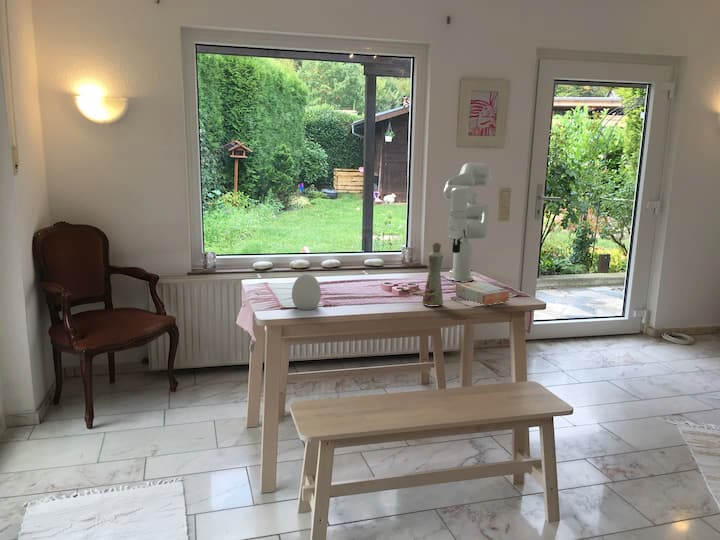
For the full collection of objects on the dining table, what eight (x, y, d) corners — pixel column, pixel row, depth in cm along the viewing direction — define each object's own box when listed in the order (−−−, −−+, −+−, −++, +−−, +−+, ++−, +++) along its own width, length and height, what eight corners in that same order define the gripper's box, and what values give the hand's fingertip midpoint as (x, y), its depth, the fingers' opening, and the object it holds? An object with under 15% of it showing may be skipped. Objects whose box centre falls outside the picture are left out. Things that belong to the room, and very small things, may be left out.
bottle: (442, 308, 258) (446, 244, 252) (421, 306, 260) (424, 243, 254) (443, 303, 266) (447, 241, 260) (423, 301, 268) (426, 240, 262)
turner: (399, 290, 287) (399, 288, 286) (405, 289, 290) (405, 286, 290) (426, 297, 276) (426, 295, 276) (432, 295, 280) (432, 293, 280)
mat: (450, 298, 275) (450, 297, 274) (481, 295, 283) (481, 293, 283) (472, 307, 261) (472, 305, 261) (503, 303, 269) (504, 302, 269)
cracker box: (455, 296, 278) (485, 306, 260) (455, 283, 277) (486, 293, 259) (478, 292, 285) (509, 302, 267) (478, 280, 283) (510, 289, 266)
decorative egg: (321, 303, 259) (321, 270, 256) (320, 311, 248) (321, 276, 244) (292, 303, 259) (293, 269, 256) (290, 311, 247) (291, 275, 244)
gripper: (442, 212, 284) (440, 249, 289) (461, 217, 272) (459, 256, 276) (455, 211, 288) (453, 248, 292) (474, 216, 275) (472, 254, 279)
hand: (456, 252), depth 284 cm, fingers closed
